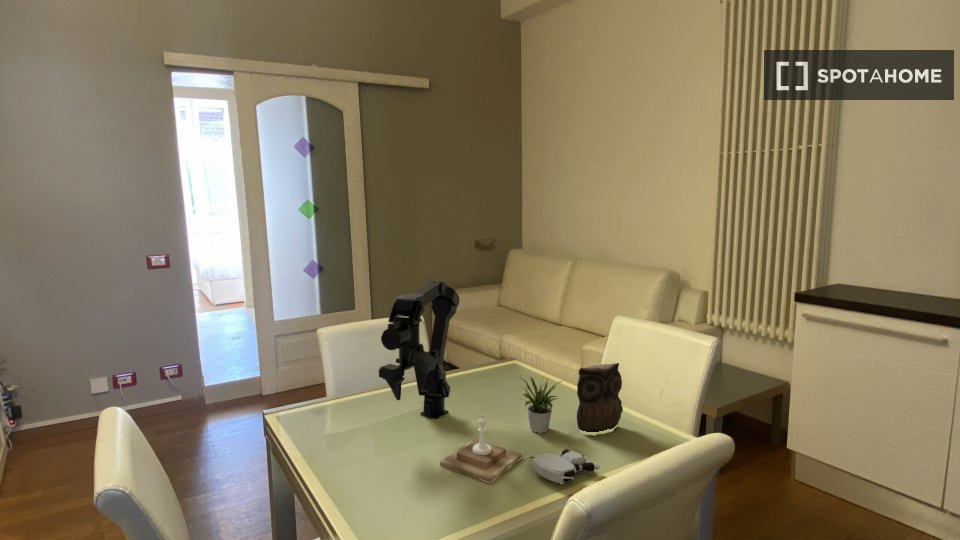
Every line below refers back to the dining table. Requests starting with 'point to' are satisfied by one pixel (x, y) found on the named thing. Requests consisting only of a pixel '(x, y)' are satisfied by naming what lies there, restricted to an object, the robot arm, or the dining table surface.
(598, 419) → the owl
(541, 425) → the house plant
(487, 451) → the chess piece
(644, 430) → the dining table surface
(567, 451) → the robot toy
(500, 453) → the pedestal
